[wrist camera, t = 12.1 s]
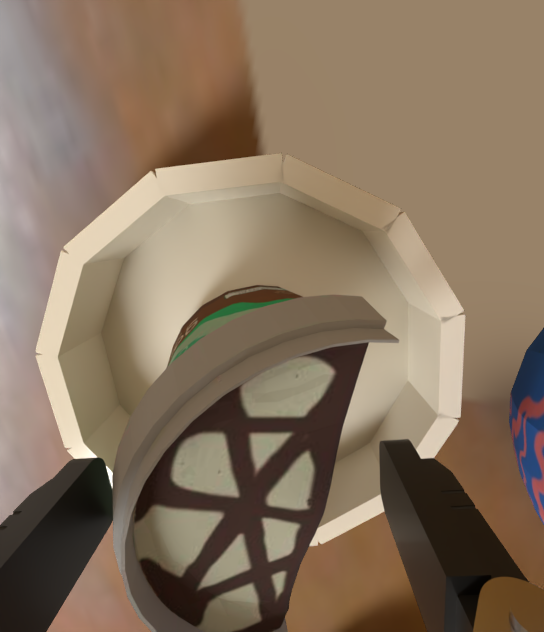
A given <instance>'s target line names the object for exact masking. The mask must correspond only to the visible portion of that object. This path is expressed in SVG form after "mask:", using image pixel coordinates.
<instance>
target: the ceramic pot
mask: <svg viewBox="0 0 544 632" xmlns="http://www.w3.org/2000/svg"><path fill="white" fill-rule="evenodd" d="M509 423H510V429H511V434H512V440H513V445H514V451H515V455H516V459H517V464H518V467H519V471H520V474H521V477H522V479H523V482H524V484H525V487H526V489H527V492H528V494H529V497H530V499H531V501H532V504H533V506H534V508H535V510H536V512H537V514H538V515H539V517H540V519H541V521H542V522H543V524H544V328H543V330H542V331H541V332H540V333H539V335H538V336H537V337H536V339H535V340H534V341H533V343H532V344H531V345H530V347H529V348H528V349H527V351H526V353H525V356H524V359H523V361H522V364H521V367H520V369H519V372H518V375H517V378H516V380H515V383H514V385H513V388H512V391H511V398H510V417H509Z"/></svg>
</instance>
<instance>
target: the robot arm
mask: <svg viewBox="0 0 544 632" xmlns="http://www.w3.org/2000/svg"><path fill="white" fill-rule="evenodd" d="M379 460H380V491H381V498H382V503H383V507H384V511H385V514H386V517H387V519H388V522H389V525H390V528H391V531H392V533H393V536H394V539H395V542H396V545H397V548H398V550H399V553H400V556H401V559H402V562H403V564H404V567H405V570H406V573H407V576H408V578H409V581H410V584H411V587H412V590H413V592H414V595H415V598H416V601H417V604H418V606H419V609H420V612H421V615H422V618H423V621H424V623H425V626H426V629H427V632H544V590H543V589H541V588H539V587H538V586H536V585H534V584H531V583H529V581H528V580H527V579H526V578H525V576H524V575H523V574H522V572H521V571H520V569H519V568H518V566H517V565H516V564H515V562H514V561H513V559H512V558H511V556H510V555H509V554H508V552H507V551H506V549H505V548H504V546H503V545H502V543H501V542H500V541H499V539H498V538H497V536H496V535H495V533H494V532H493V531H492V529H491V528H490V526H489V525H488V523H487V522H486V521H485V519H484V518H483V516H482V515H481V513H480V512H479V510H478V509H476V508H475V505H474V503H473V502H472V500H471V499H470V498H469V496H468V495H467V493H465V492H464V489H463V488H462V486H461V485H460V483H459V482H458V480H457V479H456V477H455V476H454V475H453V473H452V472H451V471H450V470H448V469H447V468H446V467H445V466H443V465H442V464H441V463H439V462H438V461H437V460H435V459H434V458H425V459H421V458H420V456H419V454H418V453H417V451H416V449H415V448H414V446H413V444H412V443H411V441H410V440H409V439H400V440H384V441H380V444H379ZM112 521H113V493H112V486H111V483H110V479H109V475H108V472H107V468H106V464H105V462H104V460H103V459H102V458H99V457H98V458H82V459H73V460H71V461H69V462H68V463H67V464H66V465H65V466H64V467H63V468H62V469H61V471H60V472H59V473H58V474H57V475H56V476H55V477H54V478H53V479H51V480H50V481H48V482H47V483H46V484H44V485H43V486H41V487H40V488H38V489H37V490H36V491H34V492H33V493H31V494H30V495H29V496H28V497H27V498H26V499H25V500H24V501H23V502H22V503H21V504H20V505H19V506H18V507H17V508H16V509H15V510H14V511H13V515H9V517H8V518H7V519H6V520H5V521H4V522H3V523H2V524H1V525H0V632H46V631H47V630H48V628H49V626H50V625H51V623H52V621H53V620H54V618H55V616H56V615H57V613H58V611H59V610H60V608H61V606H62V605H63V603H64V601H65V600H66V598H67V596H68V595H69V593H70V591H71V590H72V588H73V586H74V585H75V583H76V581H77V580H78V578H79V576H80V575H81V573H82V572H83V570H84V568H85V567H86V565H87V563H88V562H89V560H90V558H91V557H92V555H93V553H94V552H95V550H96V548H97V547H98V545H99V543H100V542H101V540H102V538H103V537H104V535H105V533H106V532H107V530H108V528H109V527H110V525H111V523H112Z"/></svg>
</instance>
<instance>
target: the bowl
mask: <svg viewBox="0 0 544 632" xmlns="http://www.w3.org/2000/svg"><path fill="white" fill-rule="evenodd" d="M155 170H156V173H155V172H152V171H150V172H149V173H148V174H147V175H146V176H144V177H143V178H142V179H141V180H140V181H139V182H138V183H136V184H135V185H134V186H133V187H132V188H131V189H130V190H128V191H127V192H126V193H125V194H124V195H123V196H122V197H120V198H119V199H118V200H117V201H116V202H115V203H114V204H112V205H111V206H110V207H109V208H108V209H107V210H106V211H104V212H103V213H102V214H101V215H100V216H99V217H97V218H96V219H95V220H94V221H93V222H92V223H91V224H89V225H88V226H87V227H86V228H85V229H84V230H83V231H81V232H80V233H79V234H78V235H77V236H76V237H75V238H73V239H72V240H71V241H70V242H69V243H68V244H67V245H65V246H64V247H63V248H64V249H65V250H66V251H61V253H60V257H59V261H58V265H57V269H56V273H55V277H54V281H53V285H52V289H51V292H50V296H49V300H48V304H47V308H46V312H45V316H44V320H43V324H42V328H41V332H40V335H39V339H38V343H37V347H36V351H35V352H37V353H40V354H38V355H36V359H37V362H38V365H39V368H40V371H41V374H42V378H43V381H44V384H45V387H46V390H47V393H48V396H49V399H50V403H51V406H52V409H53V412H54V415H55V418H56V421H57V424H58V428H59V431H60V434H61V437H62V440H63V443H64V446H65V448H69V449H68V450H67V452H69V453H70V454H71V455H72V456H73V457H74V458H75V459H82V458H98V457H99V458H102V459H103V460H104V462H105V464H106V468H107V472H108V475H109V479H110V483H111V486H112V474H113V469H114V464H115V459H116V454H117V449H118V445H119V443H120V441H121V438H122V436H123V433H124V431H125V428H126V426H127V423H128V421H129V418H130V417H131V415H132V414H133V412H134V410H135V409H136V407H137V406H138V404H139V402H140V401H141V399H142V398H143V396H144V395H145V393H146V391H147V390H148V389H149V387H150V386H151V385H152V384H153V383H154V382H155V381H156V380H157V378H158V377H159V376H160V375H161V374H162V373H163V372H164V371H165V369H166V368H167V365H168V361H169V358H170V355H171V351H172V348H173V345H174V343H175V341H176V339H177V337H178V334H179V332H180V330H181V328H182V326H183V325H184V324H185V323H186V322H187V321H188V320H189V319H190V318H191V317H192V315H193V314H194V313H195V312H196V311H197V310H198V309H199V308H200V307H201V306H202V305H204V304H205V303H207V302H209V301H211V300H213V299H214V298H216V297H218V296H220V295H222V294H223V293H225V292H227V291H230V290H235V289H240V288H245V287H250V286H254V285H264V286H278V287H281V288H283V289H285V290H288V291H290V292H293V293H295V294H298V295H300V296H303V297H310V296H321V295H332V294H333V295H348V296H362V297H363V298H364V299H365V300H366V301H367V302H368V303H369V304H370V305H371V306H372V307H373V308H374V309H375V310H376V311H377V312H378V313H379V314H380V315H381V316H382V317H383V318H384V319H386V320H387V322H386V325H385V327H384V329H385V330H386V331H388V332H389V333H390V334H392V335H393V336H395V337H396V338H398V339H399V343H373V342H369V344H368V347H367V350H366V354H365V357H364V360H363V363H362V366H361V369H360V372H359V375H358V379H357V382H356V385H355V389H354V392H353V395H352V398H351V402H350V405H349V408H348V412H347V415H346V418H345V421H344V425H343V429H342V433H341V437H340V442H339V446H338V451H337V456H336V461H335V466H334V471H333V476H332V482H331V487H330V491H329V495H328V499H327V503H326V508H325V511H324V514H323V517H322V519H321V521H320V524H319V526H318V528H317V531H316V533H315V535H314V537H313V539H312V541H311V543H310V545H309V546H316V545H318V541H319V542H320V544H323V543H325V542H327V541H329V540H331V539H333V538H335V537H336V536H338V535H340V534H342V533H344V532H346V531H348V530H350V529H352V528H353V527H355V526H357V525H359V524H361V523H363V522H365V521H367V520H369V519H371V518H372V517H374V516H376V515H378V514H380V513H382V512H384V507H383V503H382V498H381V491H380V460H379V444H380V441H384V440H400V439H409V440H410V441H411V443H412V444H413V446H414V448H415V449H416V451H417V453H418V454H419V456H420V458H421V459H425V458H434V457H435V455H436V454H437V453H438V451H439V450H440V448H441V447H442V445H443V444H444V442H445V441H446V439H447V438H448V437H449V435H450V434H451V432H452V431H453V429H454V428H455V426H456V425H457V423H458V422H459V420H458V419H457V418H458V417H461V398H462V377H463V356H464V335H465V314H463V313H462V312H463V311H464V309H463V308H462V306H461V304H460V302H459V301H458V299H457V298H456V296H455V294H454V293H453V291H452V289H451V288H450V286H449V284H448V283H447V281H446V279H445V278H444V276H443V274H442V273H441V271H440V269H439V268H438V266H437V264H436V263H435V261H434V259H433V258H432V256H431V255H430V253H429V251H428V249H427V248H426V246H425V244H424V243H423V241H422V239H421V238H420V236H419V235H418V233H417V231H416V230H415V228H414V226H413V224H412V223H411V221H410V219H409V218H408V216H407V214H406V213H405V212H401V213H399V212H400V210H401V208H399V207H397V206H395V205H393V204H391V203H389V202H387V201H384V200H382V199H380V198H378V197H376V196H374V195H372V194H370V193H368V192H366V191H363V190H361V189H359V188H357V187H355V186H353V185H351V184H349V183H347V182H345V181H343V180H341V179H338V178H336V177H334V176H332V175H330V174H328V173H326V172H324V171H322V170H320V169H318V168H316V167H313V166H311V165H309V164H307V163H305V162H303V161H301V160H299V159H297V158H294V157H293V156H290V155H288V154H286V157H285V159H284V161H283V160H282V153H278V154H269V155H261V156H253V157H245V158H237V159H229V160H222V161H214V162H206V163H198V164H190V165H182V166H174V167H166V168H158V169H155ZM317 540H318V541H317Z"/></svg>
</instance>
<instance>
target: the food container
mask: <svg viewBox="0 0 544 632" xmlns="http://www.w3.org/2000/svg"><path fill="white" fill-rule="evenodd" d="M386 322H387V320H386V319H384V318H383V317H382V316H381V315H380V314H379V313H378V312H377V311H376V310H375V309H374V308H373V307H372V306H371V305H370V304H369V303H368V302H367V301H366V300H365V299H364V298H363V297H362V296H348V295H333V294H332V295H321V296H310V297H303V296H300V295H298V294H295V293H293V292H290V291H288V290H285V289H283V288H281V287H278V286H264V285H254V286H250V287H245V288H240V289H235V290H230V291H227V292H225V293H223V294H222V295H220V296H218V297H216V298H214V299H213V300H211V301H209V302H207V303H205V304H204V305H202V306H201V307H200V308H199V309H198V310H197V311H196V312H195V313H194V314H193V315H192V317H191V318H190V319H189V320H188V321H187V322H186V323H185V324H184V325H183V326H182V328H181V330H180V332H179V334H178V337H177V339H176V341H175V343H174V345H173V348H172V351H171V355H170V358H169V361H168V365H167V368H166V369H165V371H164V372H163V373H162V374H161V375H160V376H159V377H158V378H157V380H156V381H155V382H154V383H153V384H152V385H151V386H150V387H149V389H148V390H147V391H146V393H145V395H144V396H143V398H142V399H141V401H140V402H139V404H138V406H137V407H136V409H135V410H134V412H133V414H132V415H131V417H130V418H129V421H128V423H127V426H126V428H125V431H124V433H123V436H122V438H121V441H120V443H119V445H118V449H117V454H116V459H115V464H114V469H113V474H112V493H113V547H114V551H115V555H116V559H117V563H118V567H119V571H120V573H121V575H122V577H123V581H124V585H125V589H126V593H127V597H128V599H129V601H130V602H131V604H132V606H133V608H134V610H135V611H136V613H137V615H138V617H139V618H140V619H141V621H142V622H143V623H144V624H145V625H146V626H147V627H148V628H149V629H150V630H151V631H152V632H288V631H287V626H286V621H285V615H286V613H287V611H288V609H289V600H290V596H291V592H292V588H293V585H294V582H295V579H296V576H297V573H298V570H299V567H300V564H301V562H302V559H303V557H304V555H305V553H306V551H307V549H308V547H309V545H310V543H311V541H312V539H313V537H314V535H315V533H316V531H317V528H318V526H319V524H320V521H321V519H322V517H323V514H324V511H325V508H326V503H327V499H328V495H329V491H330V487H331V482H332V476H333V471H334V466H335V461H336V456H337V451H338V446H339V442H340V437H341V433H342V429H343V425H344V421H345V418H346V415H347V412H348V408H349V405H350V402H351V398H352V395H353V392H354V389H355V385H356V382H357V379H358V375H359V372H360V369H361V366H362V363H363V360H364V357H365V354H366V350H367V347H368V344H369V342H373V343H399V339H398V338H396V337H395V336H393V335H392V334H390V333H389V332H388V331H386V330H385V329H384V327H385V325H386Z"/></svg>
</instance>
